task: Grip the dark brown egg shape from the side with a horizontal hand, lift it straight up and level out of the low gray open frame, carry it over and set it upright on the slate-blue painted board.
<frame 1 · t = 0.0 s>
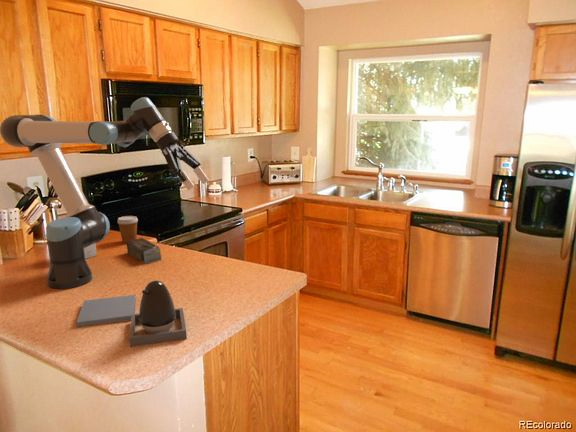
hand: (199, 185, 159), 36 cm above the worktop, tool tilted 35°, fingers open, 13 cm apart
beverage carton: (144, 257, 192), on the worktop
supplement box: (82, 257, 192), on the worktop
gray open frame: (158, 329, 127), on the worktop
disposable coffee cup: (129, 242, 214), on the worktop
slate-blue board: (108, 311, 139), on the worktop
dark brown egg shape: (158, 330, 127), resting in gray open frame
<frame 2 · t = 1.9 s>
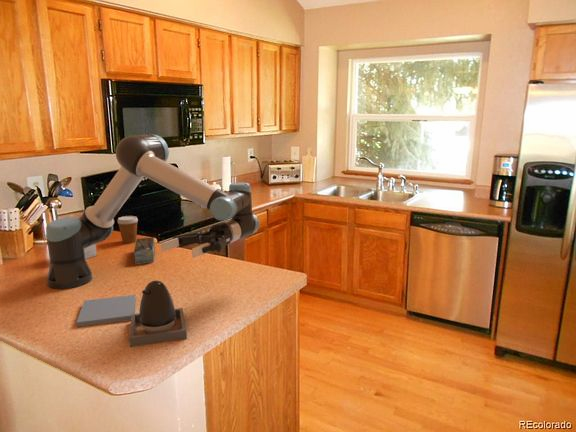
hand: (176, 250, 130), 22 cm above the worktop, tool horizontal, fingers open, 13 cm apart
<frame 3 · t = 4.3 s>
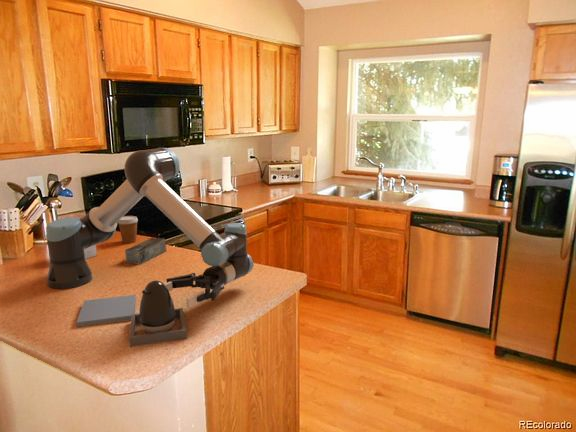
hand: (170, 297, 129), 8 cm above the worktop, tool horizontal, fingers open, 13 cm apart
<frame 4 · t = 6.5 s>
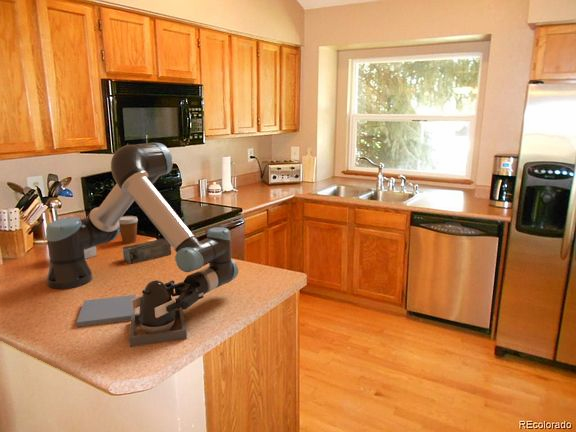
hand: (143, 308, 121), 9 cm above the worktop, tool horizontal, fingers closed on dark brown egg shape, 9 cm apart
dark brown egg shape: (158, 330, 127), resting in gray open frame, touching gripper
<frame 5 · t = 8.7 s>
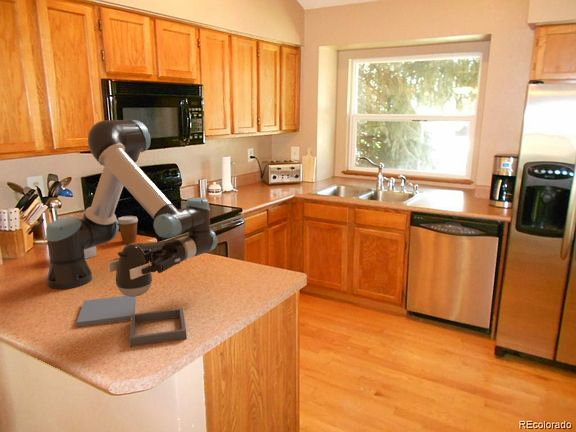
hand: (119, 270, 124), 18 cm above the worktop, tool horizontal, fingers closed on dark brown egg shape, 9 cm apart
dark brown egg shape: (135, 294, 130), point 9 cm above the worktop, touching gripper
when the fingers open (11 cm above the worktop, at t = 11.2 s): dark brown egg shape drops 1 cm, resting on slate-blue board.
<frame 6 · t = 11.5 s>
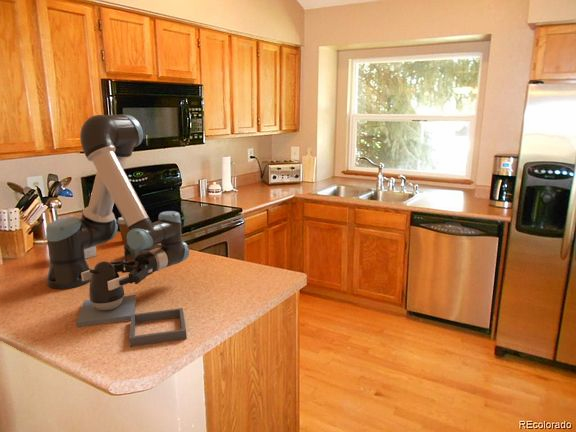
hand: (95, 281, 133), 11 cm above the worktop, tool horizontal, fingers open, 13 cm apart
dark brown egg shape: (108, 307, 138), point 1 cm above the worktop, touching slate-blue board
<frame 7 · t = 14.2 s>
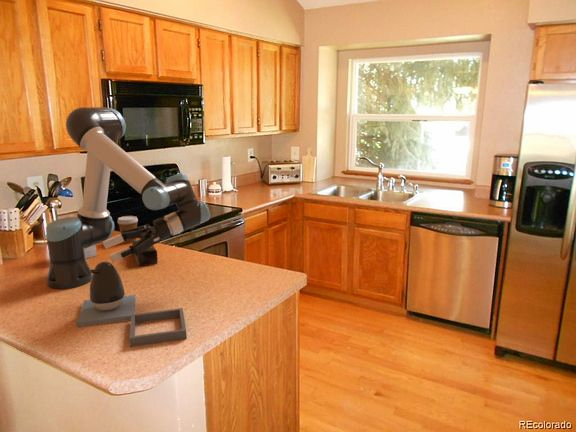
hand: (107, 252, 145), 17 cm above the worktop, tool tilted 75°, fingers open, 13 cm apart
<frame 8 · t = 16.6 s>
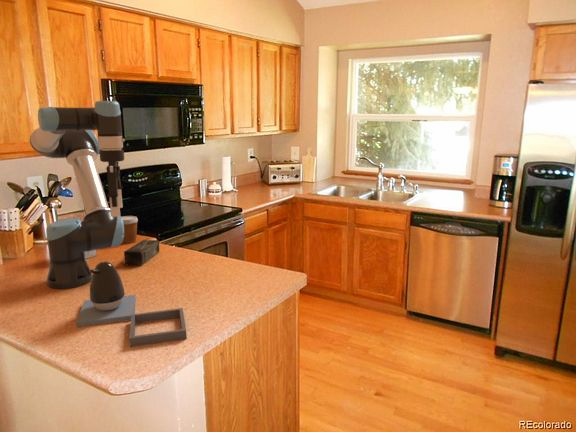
hand: (117, 211, 149), 29 cm above the worktop, tool pointing down, fingers open, 13 cm apart
at the end: dark brown egg shape inside the target area on the slate-blue board (0.1 cm from its centre), point 1.3 cm above the slate-blue board's base; dark brown egg shape tilted 0°; the gripper is holding nothing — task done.
